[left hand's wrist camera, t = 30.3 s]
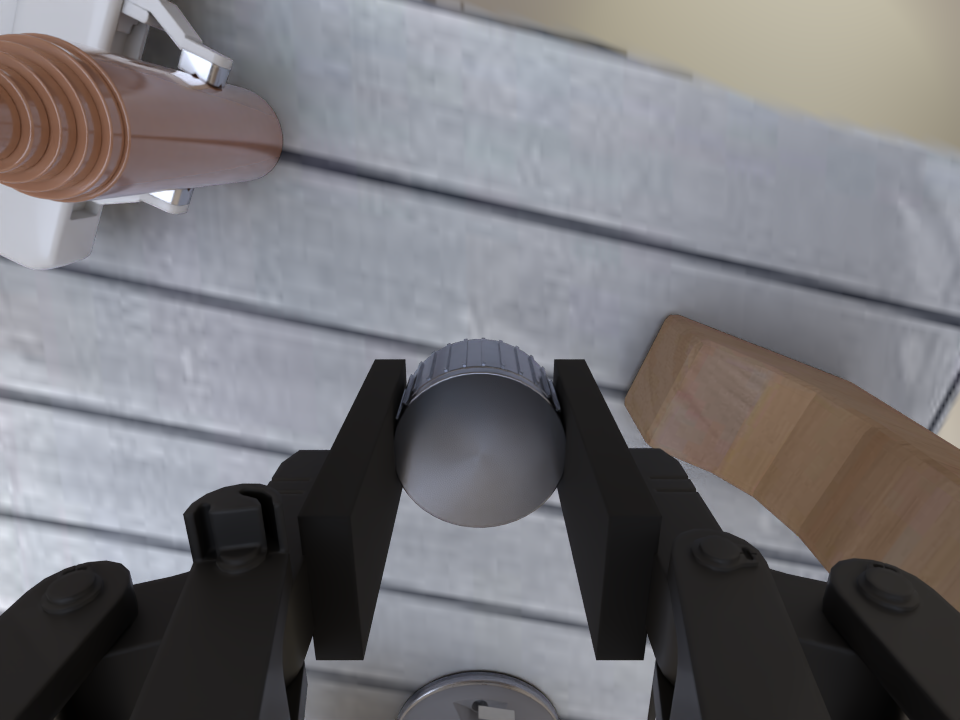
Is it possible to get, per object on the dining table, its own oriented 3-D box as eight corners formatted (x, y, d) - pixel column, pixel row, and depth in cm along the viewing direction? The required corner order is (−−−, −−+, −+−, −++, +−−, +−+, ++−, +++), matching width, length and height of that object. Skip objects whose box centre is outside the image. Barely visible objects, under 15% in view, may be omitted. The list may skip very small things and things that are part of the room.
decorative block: (666, 308, 39) (1143, 708, 11) (853, 381, 41) (1670, 883, 13) (618, 402, 42) (911, 927, 13) (797, 467, 44) (1384, 1048, 15)
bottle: (219, 193, 37) (-147, 251, 15) (177, 105, 35) (-304, 30, 14) (297, 163, 36) (31, 181, 15) (258, 72, 34) (-110, -61, 13)
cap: (589, 416, 15) (607, 462, 13) (472, 503, 16) (471, 559, 13) (488, 303, 14) (489, 332, 12) (370, 403, 15) (350, 446, 12)
